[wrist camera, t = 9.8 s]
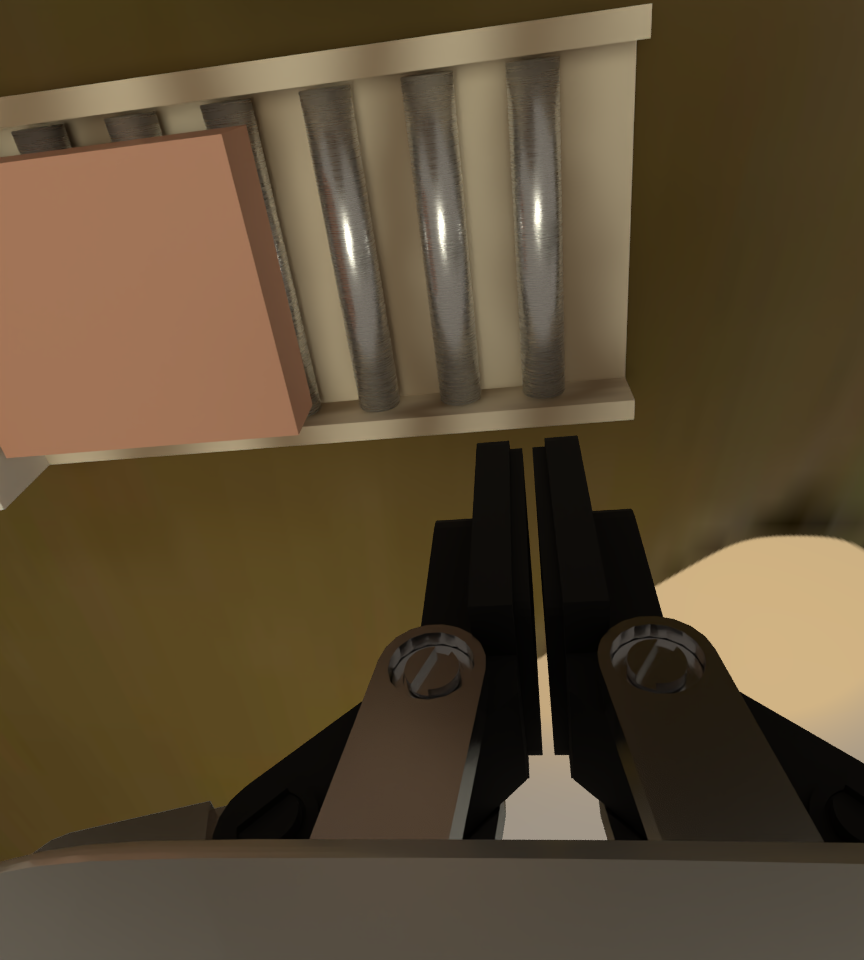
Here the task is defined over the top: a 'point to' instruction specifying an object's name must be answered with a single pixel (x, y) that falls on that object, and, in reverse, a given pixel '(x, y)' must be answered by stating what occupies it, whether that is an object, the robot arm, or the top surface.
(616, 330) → the roller bed
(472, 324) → the rollers
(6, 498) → the end stop
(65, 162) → the slab
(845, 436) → the top surface
